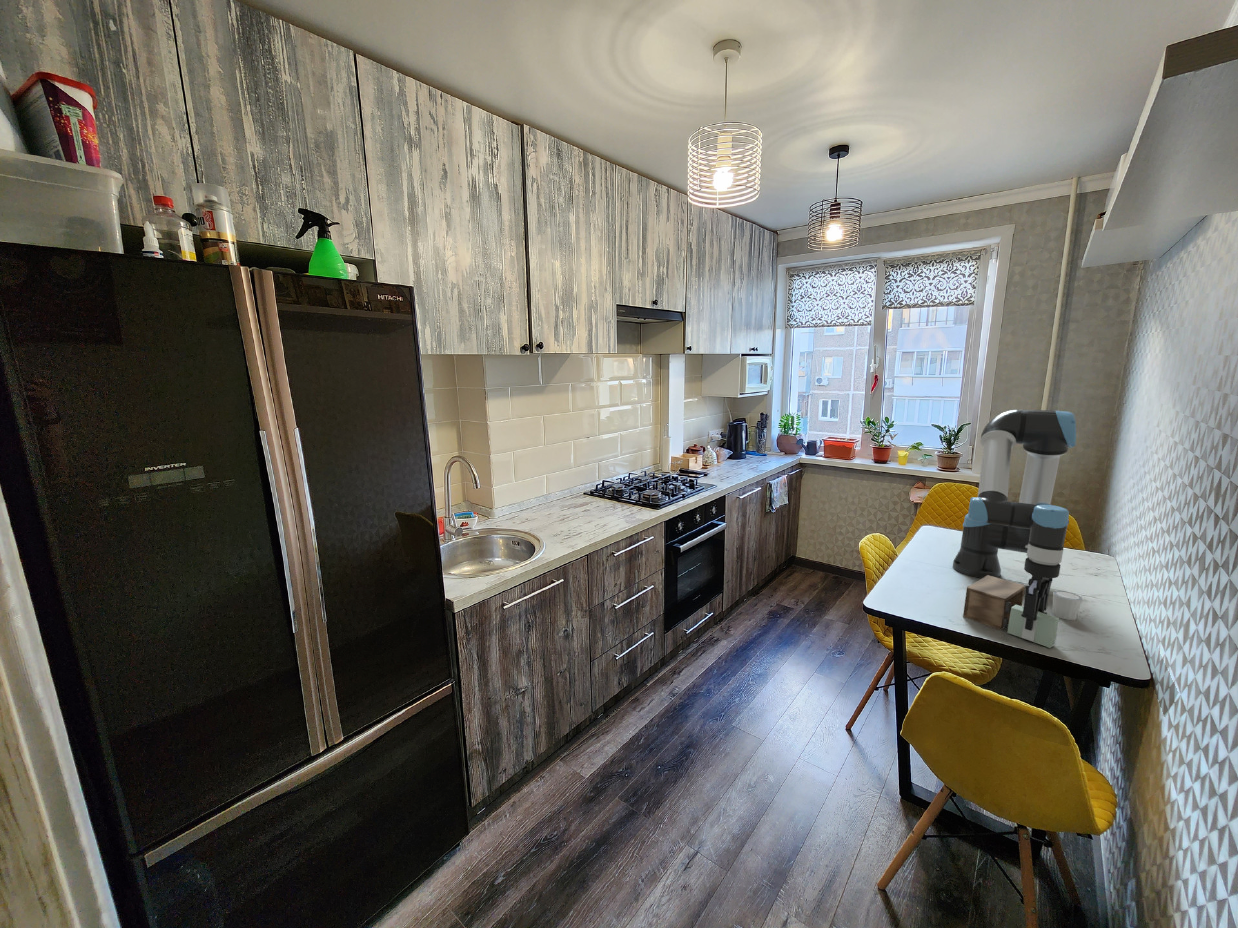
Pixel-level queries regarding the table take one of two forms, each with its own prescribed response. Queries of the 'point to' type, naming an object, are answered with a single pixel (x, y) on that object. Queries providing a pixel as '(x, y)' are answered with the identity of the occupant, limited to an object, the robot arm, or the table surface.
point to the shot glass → (1066, 604)
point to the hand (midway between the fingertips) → (1030, 636)
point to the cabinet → (992, 601)
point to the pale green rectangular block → (1043, 630)
